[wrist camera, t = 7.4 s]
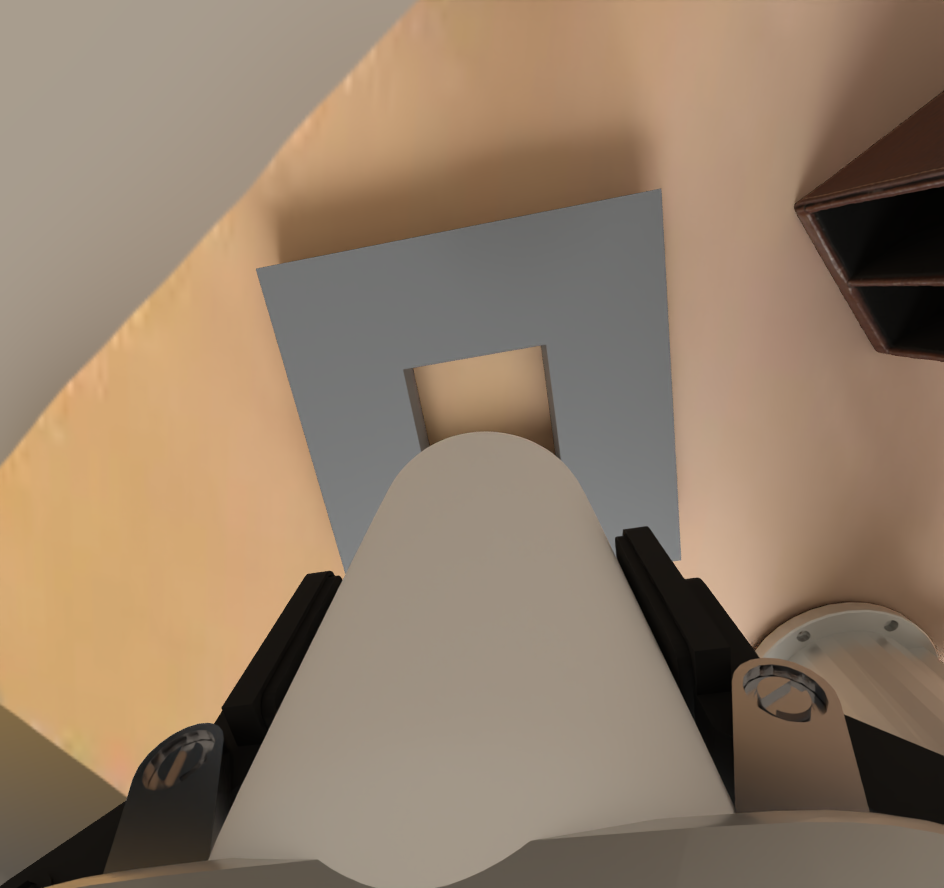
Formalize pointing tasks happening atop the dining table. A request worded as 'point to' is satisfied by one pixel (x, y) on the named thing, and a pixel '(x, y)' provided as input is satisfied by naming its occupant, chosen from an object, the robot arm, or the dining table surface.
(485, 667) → the can
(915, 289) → the letter holder
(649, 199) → the socket block
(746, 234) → the dining table surface
